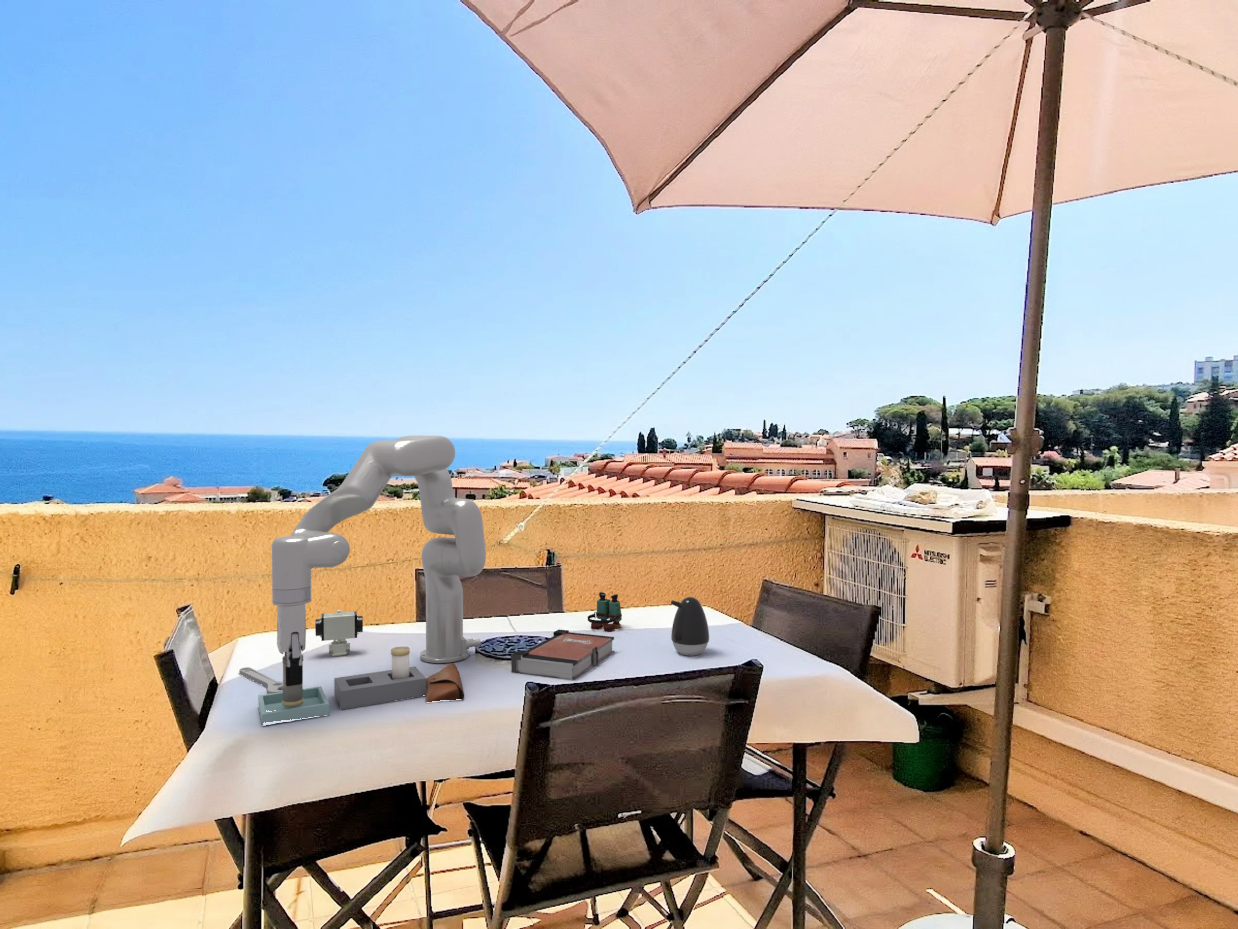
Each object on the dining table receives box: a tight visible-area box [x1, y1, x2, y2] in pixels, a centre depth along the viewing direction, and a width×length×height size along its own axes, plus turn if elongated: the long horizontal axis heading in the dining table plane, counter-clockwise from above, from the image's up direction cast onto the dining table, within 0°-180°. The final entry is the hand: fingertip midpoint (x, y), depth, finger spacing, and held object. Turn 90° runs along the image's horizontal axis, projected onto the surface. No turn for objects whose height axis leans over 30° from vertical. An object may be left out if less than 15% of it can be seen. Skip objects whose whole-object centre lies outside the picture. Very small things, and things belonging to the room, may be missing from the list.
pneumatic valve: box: [314, 609, 364, 658], centre depth 199 cm, size 6×12×12 cm, turn 111°
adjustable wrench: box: [239, 666, 283, 694], centre depth 176 cm, size 25×6×2 cm, turn 43°
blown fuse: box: [281, 654, 304, 707], centre depth 156 cm, size 4×4×10 cm
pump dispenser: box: [670, 596, 710, 657], centre depth 200 cm, size 10×10×15 cm
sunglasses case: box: [425, 662, 465, 703], centre depth 171 cm, size 18×7×7 cm, turn 17°
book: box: [510, 629, 615, 681], centre depth 192 cm, size 26×18×5 cm
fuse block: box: [333, 666, 427, 710], centre depth 166 cm, size 18×10×4 cm, turn 119°
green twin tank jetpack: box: [587, 591, 623, 632], centre depth 226 cm, size 9×11×10 cm
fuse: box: [390, 646, 411, 680], centre depth 168 cm, size 4×4×10 cm
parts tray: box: [257, 685, 330, 723], centre depth 156 cm, size 13×13×2 cm
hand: (293, 681), depth 156 cm, fingers closed on blown fuse, 3 cm apart
